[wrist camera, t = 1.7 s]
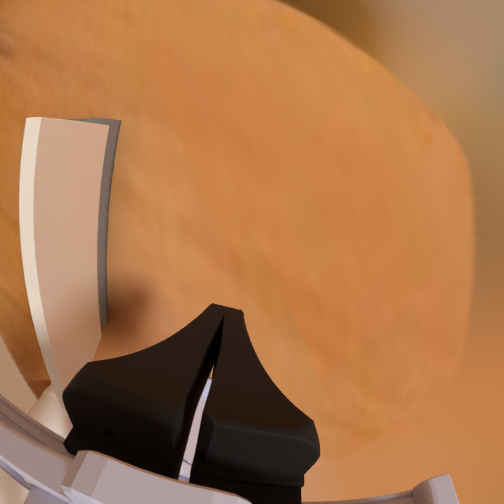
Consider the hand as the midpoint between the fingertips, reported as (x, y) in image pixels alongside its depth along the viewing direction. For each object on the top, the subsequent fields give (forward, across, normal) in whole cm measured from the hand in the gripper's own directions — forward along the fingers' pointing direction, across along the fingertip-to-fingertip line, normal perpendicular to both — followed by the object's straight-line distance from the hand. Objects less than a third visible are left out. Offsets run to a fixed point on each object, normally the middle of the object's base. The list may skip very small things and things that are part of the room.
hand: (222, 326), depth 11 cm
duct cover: (+2, +10, +1) cm, 10 cm away
